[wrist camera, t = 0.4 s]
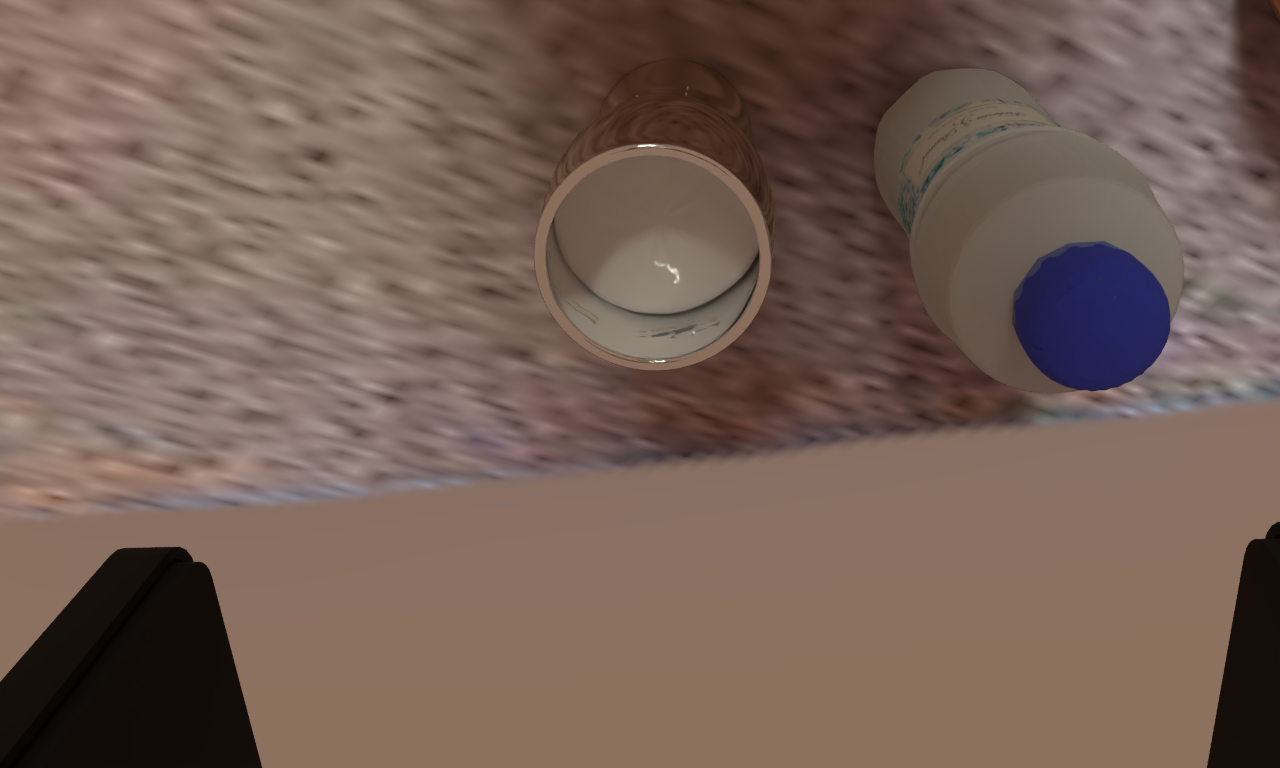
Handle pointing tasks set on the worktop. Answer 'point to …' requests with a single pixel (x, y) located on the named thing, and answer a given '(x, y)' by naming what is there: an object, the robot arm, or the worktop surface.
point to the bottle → (1027, 235)
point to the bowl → (1275, 7)
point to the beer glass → (658, 222)
